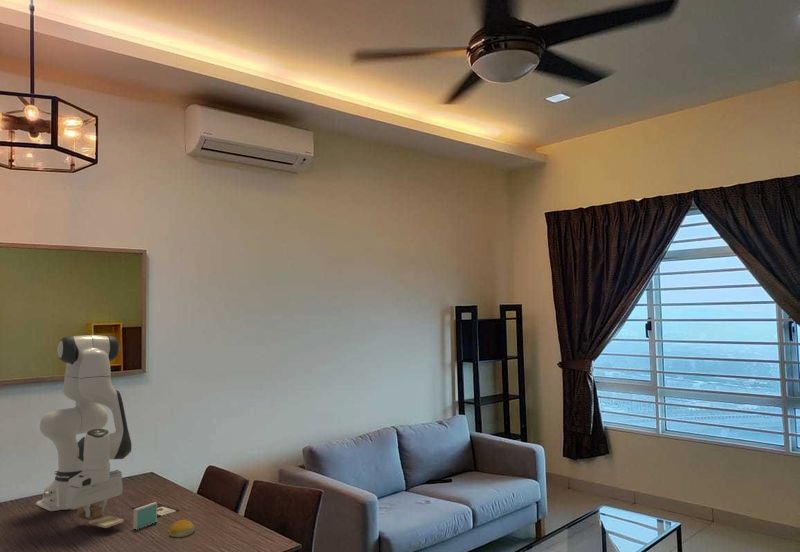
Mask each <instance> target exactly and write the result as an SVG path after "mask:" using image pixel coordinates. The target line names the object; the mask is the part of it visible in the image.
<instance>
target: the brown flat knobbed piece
mask: <svg viewBox="0 0 800 552" xmlns="http://www.w3.org/2000/svg"><path fill="white" fill-rule="evenodd" d="M89 510H90V511H93V513H92V514H93V515H92V516H90V517H86V512H85V510H84V509H83V507H80V508H77V509H76V518H79V519H84V520H87V521H88V524H90V525H91V526H92V525H93V526H97V527H98V528H99V527H100V528H103V529H107V528H108V529H109V528H110V527H113V526H116V525H118V524H121V523H124V519H123V518H120V517H119V518H118V517H115V516H112V515H108V514H107V515H103V512H102V508H101V507H99V506H96V505H94V504H90V507H89Z"/></svg>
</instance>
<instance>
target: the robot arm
mask: <svg viewBox="0 0 800 552" xmlns="http://www.w3.org/2000/svg"><path fill="white" fill-rule="evenodd" d="M56 349H57V355H58V359H60V360H61V362H64V363H66V366H65V371H64V381H63V390H62V392H63V394H64V396H65V397H66V398H68V399H70V400H72V401H74V402H75V406H74V407H69V408H62V409H56V410H53V411H49V412H47V413H45V414H44V415H43V416H42V417H41V419H40V422H39V429H40V432H41V433H42V435H43V436H44V437H45V438H47V439H49V440H50V441H51V442H53V444H54V445H55V447H56V451H57V460H58V464H57V468H58V469H57V470H56V471H54V475H55V477H54V480H53V481H52V482H51V483H50V484H49V485H47V486H46V487H45V488H44V490H43V494H42V499H40V500H38V501H36V503H35V506H38V507H40V508H41V509H45V510H46V511H49V512H54V511H61V510H62V511H63V510H72V511H73V510H77V508H80V507H83V509H84V510H85V512H86V517H90V516H92V515H93V514H92V513H93V511H90V510H89V507H90V505H94V504H96V503H99V502H100V504H99V506H98V507H101V508H102V513H104V512H105V507H106V505H107V502H108V500H109V499H111V498H114V497H117V496H121V495H122V493H123V491H124V489H123V488H124V487H123V486H124V485H123V479H122V477H123V474H122V471H120V470H118V469H115V470H112V471H111V463H110V460H123V459H125V458H126V457H128V455H130V454H131V452H132V447H133V446H132V445H133V443H132V439H131V435H130V432H129V428H128V422H127V417H126V413H125V406H124V402H123V398H122V394H121V392H120V391H119V390H117V389H115V387H114V386H113V383H112V376H111V375H112V374H111V373H112V371H111V363H110V362H111V361H114V360H115V359H116V358H118V355H119V352H120V344H119V340H118V338H116V337H115V336H112V335H101V334H100V335H99V334H89V335H74V336H73V335H67V336H64V337H62V338H61V339H60V340H59V343H58V346H57V348H56ZM104 406H105V407H107V408H108V409H110V411H111V412H112V416H113V417H112V418H113V423H114V427H115V431H114V432H112V433H111V432H110V431H109V430H107V429H106V428H104V427H106V426H107V423H108V420H109V414H108V411H107V409H106V408H105V407H104ZM80 434H81V435H83V434H85V436H83V437H82V438H80V439H79V440H77V435H80Z"/></svg>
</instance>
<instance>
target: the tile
mask: <svg viewBox="0 0 800 552" xmlns="http://www.w3.org/2000/svg"><path fill="white" fill-rule="evenodd" d="M152 502H153V503H151V502H149V503H150V504H148V505H145V506H142V507H139V508H136V509H134V510H133V511H132V512H133V516H132V517H133V518H132V521H133V523H132V529H133V530H134V529H136V530H135V531H138V530H140V529H142V527H143V528H145V527H147V525H148V526H150V525H153V524H155V522H156V523H157V522H158V517H157V503H158V502H156V501H152ZM152 523H153V524H152ZM144 526H145V527H144ZM139 528H140V529H139ZM137 529H138V530H137Z"/></svg>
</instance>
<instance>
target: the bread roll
mask: <svg viewBox="0 0 800 552" xmlns="http://www.w3.org/2000/svg"><path fill="white" fill-rule="evenodd" d="M195 528H196V527H195V526H194V524H193V523H192V522H191V521H189V520H188V519H187V520H186V519H180V520H177V521H175V522H173V524H171V525H170V528H169V532H168V534H169V536H170V537H172V538H183V537H188V536H190V535H192V534H193V533H194V532H195Z"/></svg>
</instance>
